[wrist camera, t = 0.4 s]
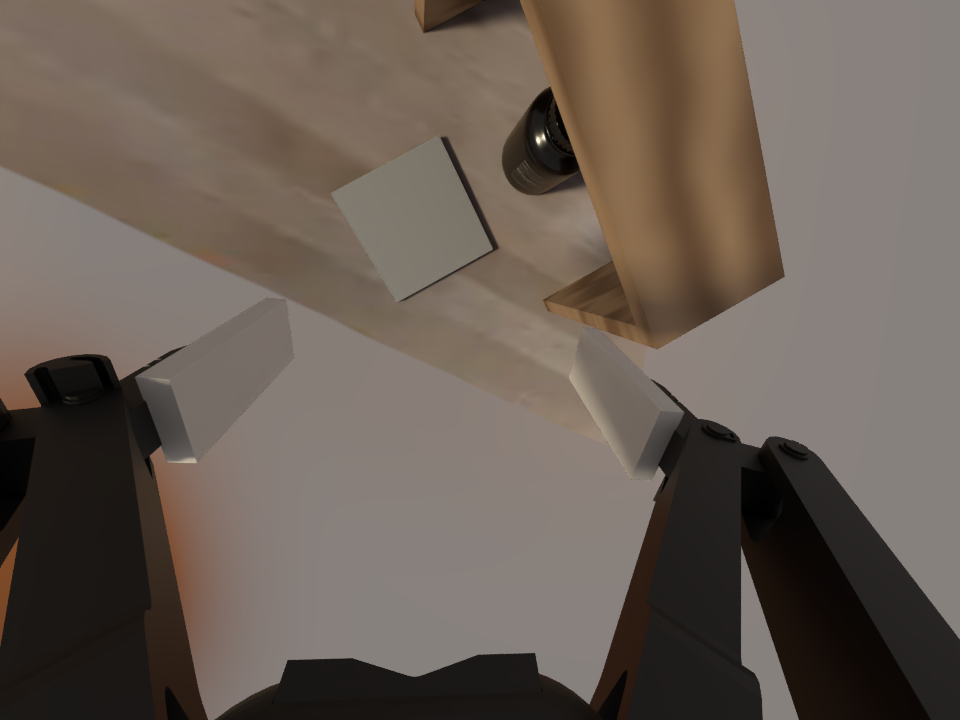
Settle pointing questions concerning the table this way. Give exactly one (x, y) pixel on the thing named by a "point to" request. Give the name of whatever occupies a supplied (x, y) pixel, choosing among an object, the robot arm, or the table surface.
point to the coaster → (414, 219)
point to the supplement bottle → (539, 148)
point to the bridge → (656, 157)
